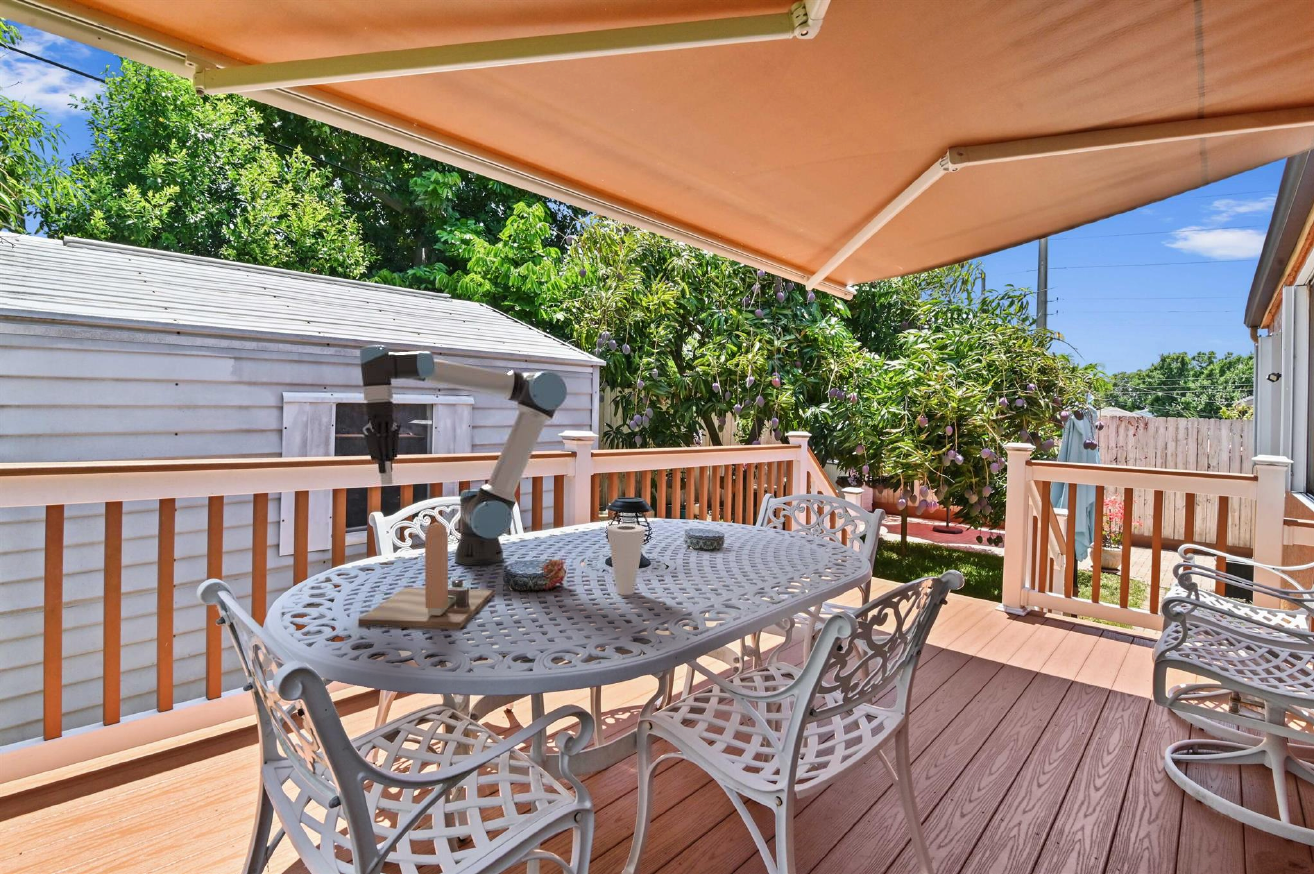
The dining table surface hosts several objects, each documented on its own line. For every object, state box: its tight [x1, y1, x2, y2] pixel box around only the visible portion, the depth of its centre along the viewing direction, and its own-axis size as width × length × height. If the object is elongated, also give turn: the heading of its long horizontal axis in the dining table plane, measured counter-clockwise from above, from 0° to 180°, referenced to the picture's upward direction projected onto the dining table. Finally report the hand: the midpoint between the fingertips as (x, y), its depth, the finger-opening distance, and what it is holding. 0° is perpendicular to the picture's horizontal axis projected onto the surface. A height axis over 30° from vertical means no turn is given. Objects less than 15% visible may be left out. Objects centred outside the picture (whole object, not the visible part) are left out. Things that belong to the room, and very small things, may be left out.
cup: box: [606, 523, 647, 596], centre depth 188 cm, size 11×11×18 cm
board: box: [358, 586, 494, 630], centre depth 172 cm, size 26×24×2 cm
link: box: [424, 522, 467, 615], centre depth 170 cm, size 20×5×22 cm, turn 179°
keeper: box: [448, 579, 470, 608], centre depth 175 cm, size 12×9×4 cm
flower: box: [539, 557, 568, 591], centre depth 192 cm, size 10×9×8 cm
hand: (387, 484), depth 195 cm, fingers closed
